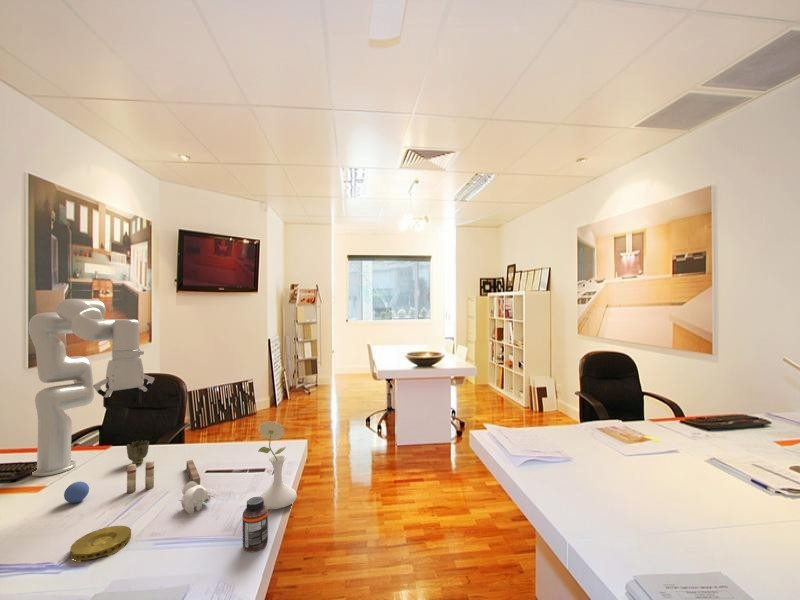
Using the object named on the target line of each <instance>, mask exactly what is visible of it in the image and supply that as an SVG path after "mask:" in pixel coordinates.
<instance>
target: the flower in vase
mask: <svg viewBox="0 0 800 600" xmlns="http://www.w3.org/2000/svg"><path fill="white" fill-rule="evenodd" d="M283 427H284V425H281V423H280V422H279V423H277V422H276V420H274V421H271V420H268V421H267V420H266V421H264V422H263V423H261V424H259V426H258V429H257V431H258V432H259V434H260V435H261V437H263V438H264V439H266V440H267V439H268V440H269V441H268V447H266V446H261V447H260V448H259V450H257V452H258V453H259V452H260V453H264V454H269V453H270V452H271V453H272V455H273V456H271V457H269V459H268V460H269V462H270V463H271V465H272V468H273V481H272V483H271V485H270V486H268V487H267V488H266V489H265V490H264V491H263V492H262V493H261V494H260V496H259V497H262V498H263V499H264V505H265V506H266V507H267V509H268V510H278V509H283V508H286V507H288V506H290V505H291V504H293V503H294V502H295V501H296V500H297V497H298V494H297V492H296V490H295V489H294V488H293V487H291V486H290V485H288V484H286V483H284V481H283V477H282V473H283V472H282V471H283V466H284V462H285V461H286V460H287V456H286V455H282V454H281V453H282V452H283V451H284V450H285V449H286V448H287V445H285V446H283V447H281V448H278V449H277V450H276V451H275V452H274V451H273V450H272V448H271V441H272V440H273V441H275V440H279V439H280V438H283V437H284V435H285V433H286V431H285V428H283ZM279 454H281V455H279Z"/></svg>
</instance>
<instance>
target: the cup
mask: <svg viewBox="0 0 800 600" xmlns="http://www.w3.org/2000/svg"><path fill="white" fill-rule="evenodd" d="M125 446H126V453H127V457H128V459H129V460H130V461H131V464H136V466H137V465H141V464H143V463H144V459H145V458H146V457H147V455H148V452H149V447H150V441H149V440H145V439H144V440H136V441H131V444H129V443H127V444H126V445H125Z"/></svg>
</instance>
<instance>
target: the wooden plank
mask: <svg viewBox="0 0 800 600" xmlns="http://www.w3.org/2000/svg"><path fill="white" fill-rule="evenodd" d="M194 462H195V461H194V460H193V459H190V460H186V467H185V468H186V471H187V475H188V477H189V480H190V481H194V482H196V483H197V484H198V485H201V476H200V474H199V472H198V469H197V467H196V464H195V463H194Z"/></svg>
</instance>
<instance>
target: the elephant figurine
mask: <svg viewBox="0 0 800 600" xmlns="http://www.w3.org/2000/svg"><path fill="white" fill-rule="evenodd" d="M182 495H183V496H182V498H181V499H178V502H180V503H181V507H182V509H183V510H184V511H185V512H186V513H187V514H188V513H190V514H193V513H194V511H195V510H196V511H197V510H198V511H200V509H201V510H202V508H203V504H208V503H210V501H211V498H215V496H214V495H211V493H210V492H209V491H208V490H207V488H205V487H204V486H203V485H201V484H200V485H198V484H197V483H196V482H194V481H191V480H190V481H188V482H187V483H186V484H185V486H184V487H183V489H182ZM192 512H193V513H192Z"/></svg>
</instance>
